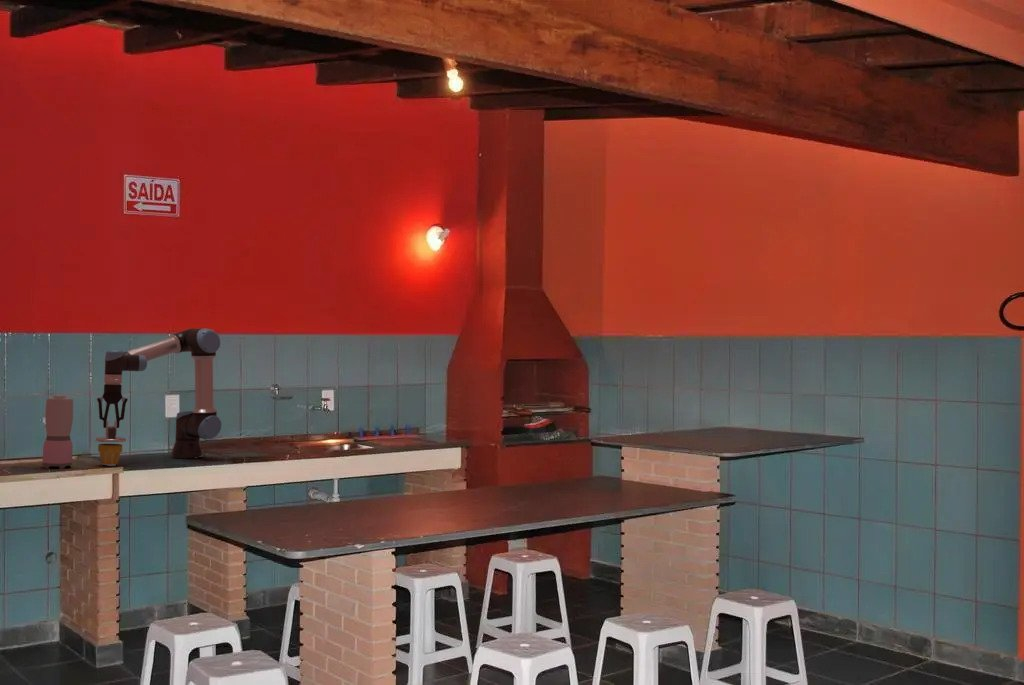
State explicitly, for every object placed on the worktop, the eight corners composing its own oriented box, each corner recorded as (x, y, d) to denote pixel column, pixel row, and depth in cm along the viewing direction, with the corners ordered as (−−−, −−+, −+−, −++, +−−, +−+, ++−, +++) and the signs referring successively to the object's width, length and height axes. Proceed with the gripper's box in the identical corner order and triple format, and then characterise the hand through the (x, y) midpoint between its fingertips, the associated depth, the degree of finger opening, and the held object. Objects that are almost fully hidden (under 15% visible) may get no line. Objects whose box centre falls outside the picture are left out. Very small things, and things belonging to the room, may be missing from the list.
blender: (68, 469, 475) (71, 396, 475) (38, 468, 473) (41, 395, 473) (76, 465, 490) (79, 395, 491) (48, 464, 488) (51, 394, 489)
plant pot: (125, 465, 499) (126, 443, 499) (115, 467, 488) (116, 445, 488) (104, 464, 500) (104, 442, 500) (93, 466, 489) (94, 444, 489)
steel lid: (123, 439, 503) (124, 426, 503) (127, 442, 491) (127, 428, 491) (94, 439, 497) (94, 426, 497) (96, 442, 485) (97, 428, 485)
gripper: (95, 383, 487) (92, 435, 487) (132, 384, 495) (130, 435, 494) (93, 383, 494) (91, 434, 494) (130, 383, 501) (128, 434, 501)
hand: (110, 435), depth 494 cm, fingers closed on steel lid, 3 cm apart
